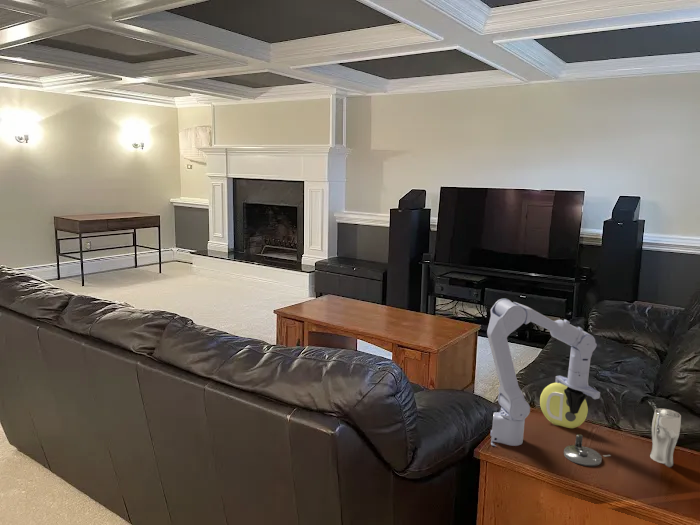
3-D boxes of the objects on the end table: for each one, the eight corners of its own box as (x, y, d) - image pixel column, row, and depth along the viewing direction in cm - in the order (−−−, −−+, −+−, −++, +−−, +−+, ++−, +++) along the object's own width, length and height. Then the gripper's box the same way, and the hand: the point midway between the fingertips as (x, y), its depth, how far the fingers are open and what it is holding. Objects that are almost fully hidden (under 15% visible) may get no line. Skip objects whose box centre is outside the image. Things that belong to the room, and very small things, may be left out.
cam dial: (606, 468, 151) (607, 454, 150) (568, 463, 152) (569, 449, 151) (595, 449, 161) (596, 435, 160) (559, 445, 163) (561, 432, 162)
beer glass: (665, 470, 153) (672, 420, 150) (642, 458, 159) (648, 410, 156) (680, 465, 156) (687, 416, 154) (656, 454, 162) (663, 406, 160)
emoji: (536, 423, 180) (583, 436, 170) (538, 379, 178) (586, 389, 169) (541, 419, 183) (588, 432, 174) (544, 376, 182) (591, 386, 172)
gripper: (608, 376, 160) (603, 419, 162) (568, 360, 172) (563, 401, 174) (592, 379, 156) (587, 424, 159) (552, 363, 169) (548, 405, 171)
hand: (573, 412), depth 166 cm, fingers closed
